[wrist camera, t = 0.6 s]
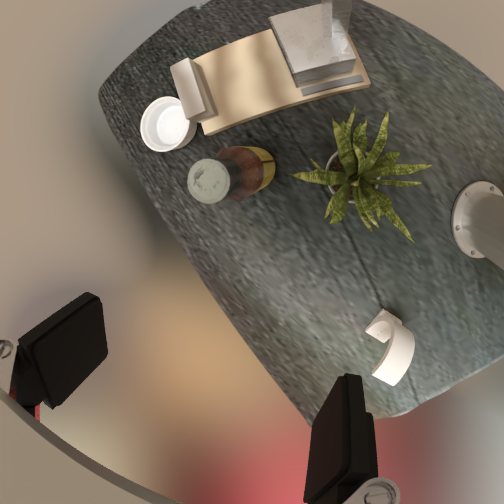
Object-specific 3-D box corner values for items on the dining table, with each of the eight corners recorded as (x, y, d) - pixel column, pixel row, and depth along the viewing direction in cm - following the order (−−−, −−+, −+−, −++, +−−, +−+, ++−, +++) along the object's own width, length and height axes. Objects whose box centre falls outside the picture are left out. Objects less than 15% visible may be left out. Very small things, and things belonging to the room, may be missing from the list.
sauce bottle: (231, 155, 42) (163, 154, 23) (269, 141, 40) (225, 126, 21) (245, 195, 43) (186, 223, 25) (283, 183, 41) (251, 201, 23)
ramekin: (172, 92, 40) (158, 87, 36) (211, 116, 40) (200, 112, 36) (146, 135, 44) (131, 135, 40) (182, 161, 44) (169, 162, 40)
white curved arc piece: (364, 329, 45) (371, 374, 34) (387, 303, 43) (401, 346, 32) (383, 340, 45) (393, 386, 34) (405, 316, 43) (422, 359, 31)
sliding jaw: (328, 24, 29) (322, -78, 8) (351, 73, 31) (376, -13, 11) (275, 37, 32) (225, -56, 11) (296, 87, 34) (261, 10, 13)
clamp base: (336, 18, 30) (337, -4, 24) (368, 87, 33) (377, 74, 27) (187, 68, 38) (166, 56, 32) (209, 135, 41) (190, 132, 35)
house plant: (419, 175, 35) (470, 186, 20) (361, 241, 41) (381, 287, 26) (348, 109, 35) (363, 78, 20) (290, 179, 41) (270, 190, 26)
